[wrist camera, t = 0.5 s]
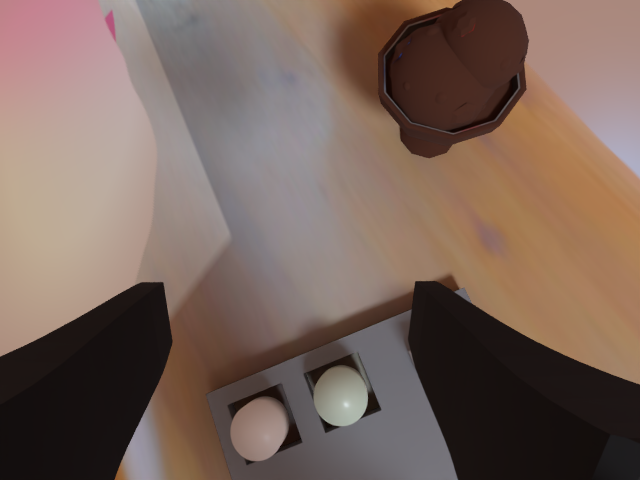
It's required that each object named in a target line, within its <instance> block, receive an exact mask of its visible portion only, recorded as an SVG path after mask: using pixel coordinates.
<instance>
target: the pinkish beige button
mask: <svg viewBox="0 0 640 480" xmlns="http://www.w3.org/2000/svg"><path fill="white" fill-rule="evenodd" d="M289 427H290V419H289V414H288V412H287V409H286V408H285V406H284V405H283V404H282V403H281V402H280V401H279V400H277V399H275V398H273V397H269V396H262V397H258V398H256V399H254V400H252V401H251V402H249V403H248V404H247V405H245V406H244V407H242V408H241V409H240V410H239V411H238V412H237V413H236V415H235V416H234V418H233V421H232V424H231V430H230V435H231V440H232V444H233V446H234V448H235V449H236V451H237V452H238V453H239V454H240V455H241V456H242V457H244V458H246V459H248V460H251V461H262V460H266V459H268V458H270V457H271V456H272V455H274V454H275V453H276V452H277V450H278V449H279V447H280V446H281V444H282V443H283V441H284V439H285V438H286V436H287V434H288V431H289Z"/></svg>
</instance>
